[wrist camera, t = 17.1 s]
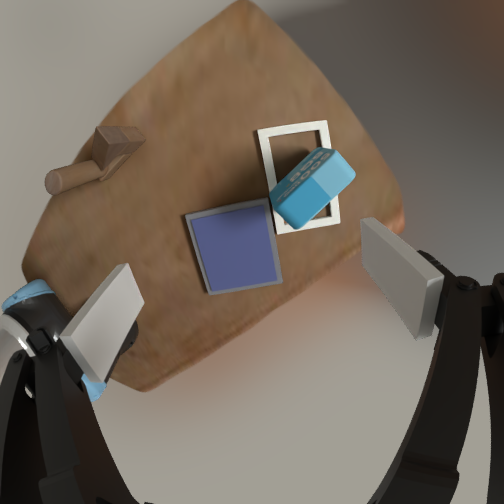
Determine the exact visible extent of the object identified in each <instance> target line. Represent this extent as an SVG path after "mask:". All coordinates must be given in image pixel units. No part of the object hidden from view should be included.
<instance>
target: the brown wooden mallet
mask: <svg viewBox="0 0 504 504" xmlns="http://www.w3.org/2000/svg"><path fill="white" fill-rule="evenodd" d="M144 142H145V138H144V137H143V135H142V134H141V133H140V132H139V131H138V129H137V128H136V127H115V126H101V127H96V129H95V135H94V142H93V149H92V158H93V160H89V161H84V162H80V163H76V164H72V165H69V166H65V167H61V168H58V169H54V170H51V171H50V172H49V173H48V174H47V176H46V178H45V187H46V190H47V191H48V193H49V194H51V195H58V194H60V193H62V192H65V191H67V190H70V189H72V188H75V187H77V186H80V185H82V184H85V183H88V182H90V181H93V180H96V179H99V180H100V181H103V180H106V179H109V178H110V177H111V176H112V175H113V174H114V173H115V171H116V170H117V169H118V168H119V167H120V166H121V165H122V164H123V163H124V162H125V161H126V160H127V159H128V158H129V157H130V156H131V155H132V153H133V152H135V151H136V150H137V149H138V148H139V147H140V146H141V145H142V144H143V143H144Z"/></svg>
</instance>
